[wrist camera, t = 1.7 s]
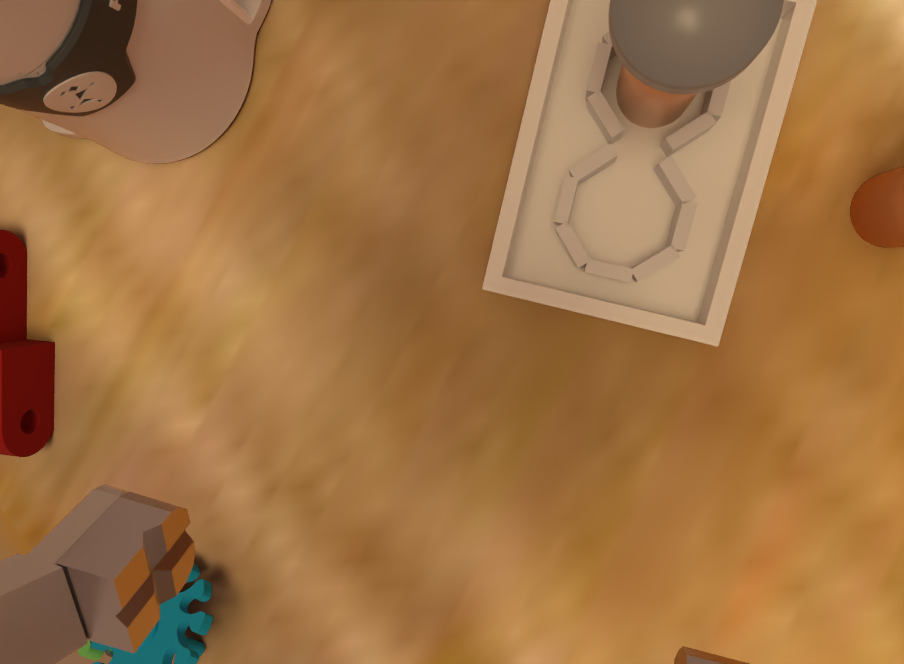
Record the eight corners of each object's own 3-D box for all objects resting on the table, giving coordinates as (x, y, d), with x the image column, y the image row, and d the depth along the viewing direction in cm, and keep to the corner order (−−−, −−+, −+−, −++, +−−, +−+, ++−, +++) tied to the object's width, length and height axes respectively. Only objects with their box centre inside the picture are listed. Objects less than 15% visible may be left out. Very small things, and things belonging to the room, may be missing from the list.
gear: (214, 543, 48) (177, 703, 41) (266, 572, 52) (239, 721, 46) (98, 568, 52) (47, 718, 45) (155, 593, 56) (116, 734, 49)
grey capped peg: (578, 68, 41) (582, -31, 28) (681, 11, 40) (738, -122, 26) (627, 166, 41) (654, 115, 28) (731, 112, 40) (814, 31, 26)
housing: (706, 340, 43) (718, 346, 39) (488, 287, 45) (481, 289, 41) (799, 10, 40) (821, -14, 37) (564, -30, 42) (563, -56, 39)
